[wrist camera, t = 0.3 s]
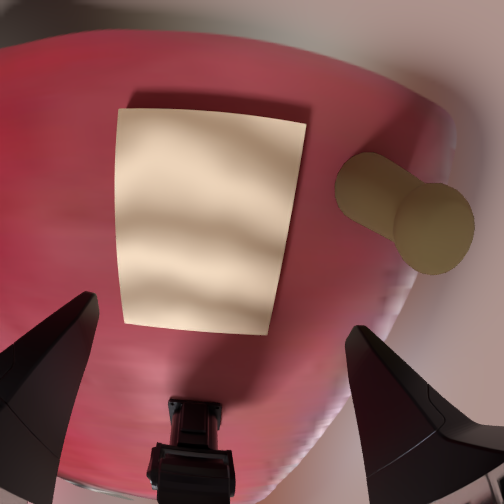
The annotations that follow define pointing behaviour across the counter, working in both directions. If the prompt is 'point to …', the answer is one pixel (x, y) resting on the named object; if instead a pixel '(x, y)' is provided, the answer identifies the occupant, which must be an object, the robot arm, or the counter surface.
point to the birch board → (203, 216)
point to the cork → (407, 212)
